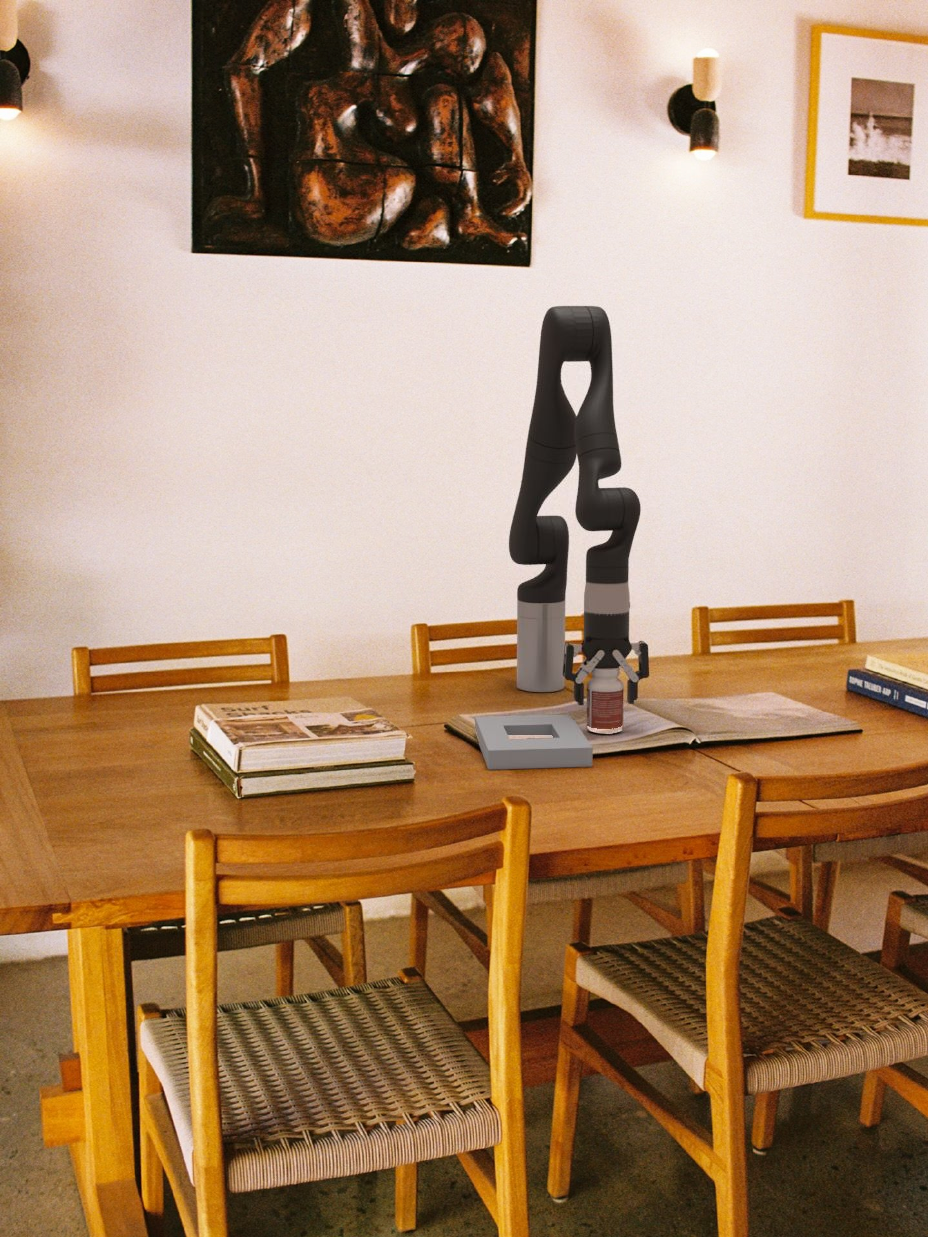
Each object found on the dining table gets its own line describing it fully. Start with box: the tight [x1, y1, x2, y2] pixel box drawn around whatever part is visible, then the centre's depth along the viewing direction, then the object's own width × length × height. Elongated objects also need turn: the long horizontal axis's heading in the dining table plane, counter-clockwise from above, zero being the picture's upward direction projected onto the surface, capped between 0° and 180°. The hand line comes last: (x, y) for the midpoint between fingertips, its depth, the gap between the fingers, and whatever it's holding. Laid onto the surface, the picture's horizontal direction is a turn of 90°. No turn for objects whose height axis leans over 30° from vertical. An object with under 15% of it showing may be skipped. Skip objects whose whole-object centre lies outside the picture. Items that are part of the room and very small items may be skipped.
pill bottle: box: [586, 666, 625, 729], centre depth 211 cm, size 6×6×11 cm
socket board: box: [474, 713, 594, 770], centre depth 200 cm, size 20×16×3 cm
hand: (605, 703), depth 210 cm, fingers open, 8 cm apart
